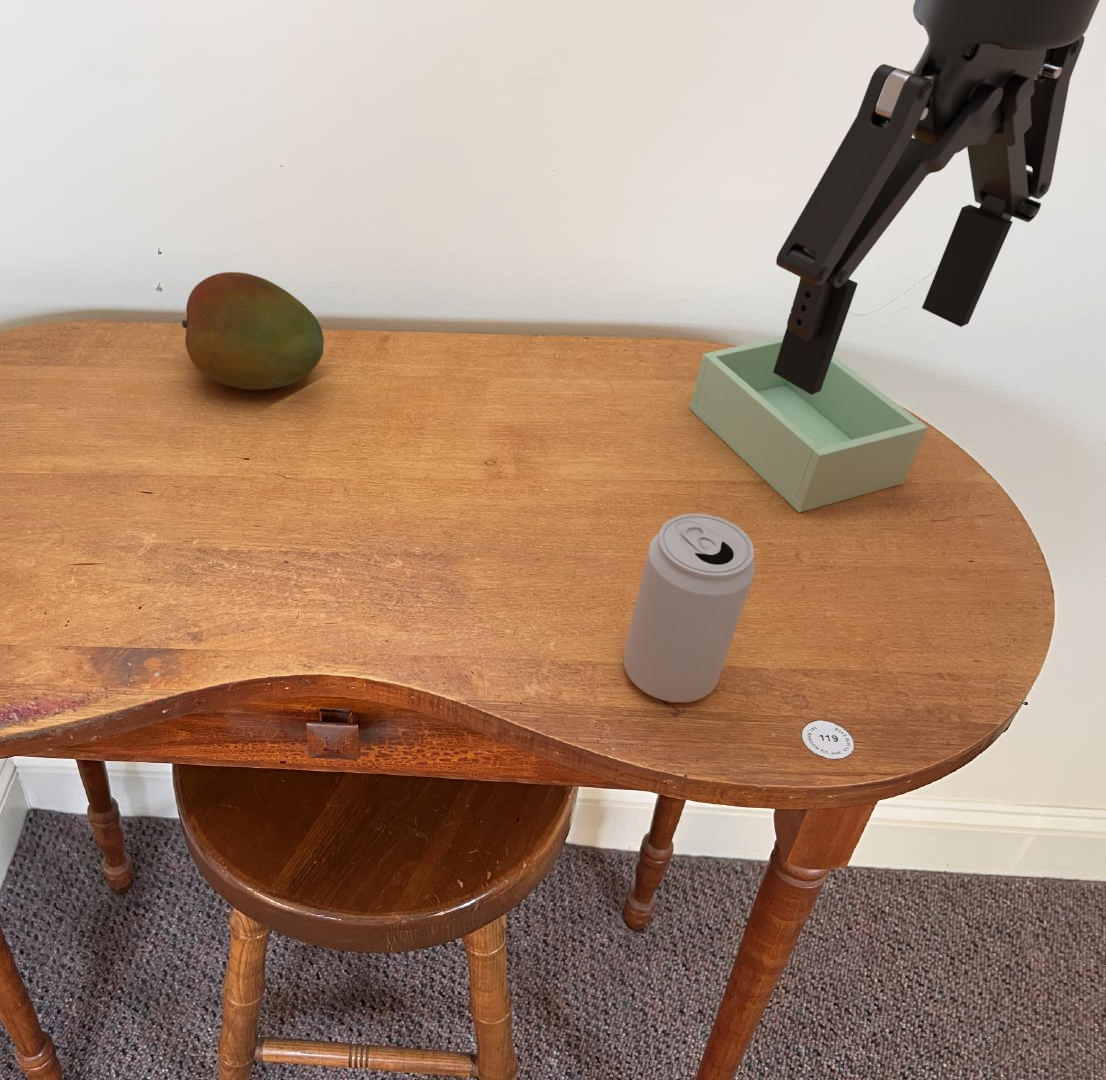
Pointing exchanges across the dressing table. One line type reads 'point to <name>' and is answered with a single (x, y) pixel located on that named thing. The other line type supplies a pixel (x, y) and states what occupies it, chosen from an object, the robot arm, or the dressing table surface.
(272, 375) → the fruit
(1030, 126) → the robot arm
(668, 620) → the beverage can
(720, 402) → the bin
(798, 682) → the dressing table surface
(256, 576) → the dressing table surface
